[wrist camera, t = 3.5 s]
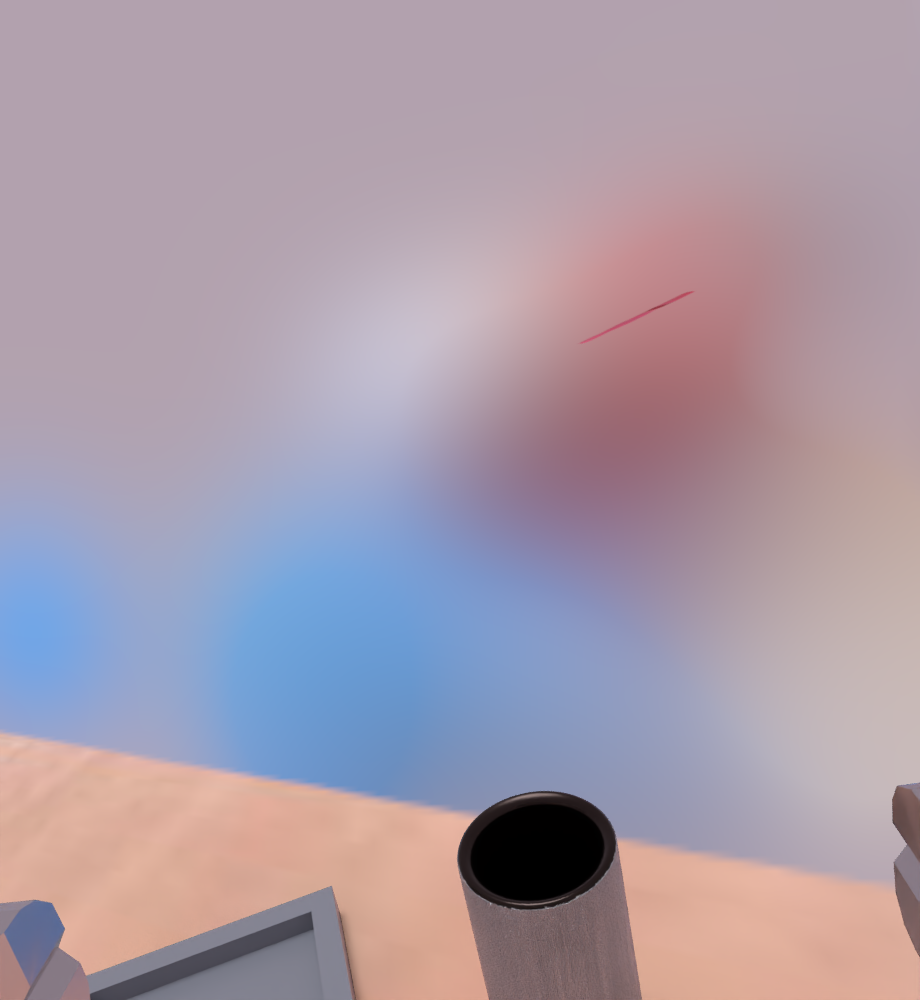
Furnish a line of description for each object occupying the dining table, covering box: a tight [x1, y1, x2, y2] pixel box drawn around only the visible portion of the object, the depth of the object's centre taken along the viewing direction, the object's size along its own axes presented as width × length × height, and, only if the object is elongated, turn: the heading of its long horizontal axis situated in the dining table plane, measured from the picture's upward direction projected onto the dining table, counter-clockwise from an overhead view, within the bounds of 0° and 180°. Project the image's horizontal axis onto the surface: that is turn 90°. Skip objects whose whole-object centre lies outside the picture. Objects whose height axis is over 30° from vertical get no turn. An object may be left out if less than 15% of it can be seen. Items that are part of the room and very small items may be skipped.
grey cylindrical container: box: [457, 791, 642, 1000], centre depth 24 cm, size 4×4×10 cm
